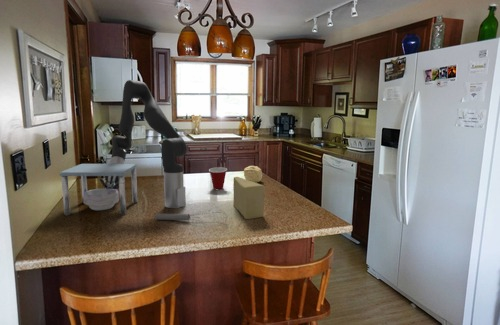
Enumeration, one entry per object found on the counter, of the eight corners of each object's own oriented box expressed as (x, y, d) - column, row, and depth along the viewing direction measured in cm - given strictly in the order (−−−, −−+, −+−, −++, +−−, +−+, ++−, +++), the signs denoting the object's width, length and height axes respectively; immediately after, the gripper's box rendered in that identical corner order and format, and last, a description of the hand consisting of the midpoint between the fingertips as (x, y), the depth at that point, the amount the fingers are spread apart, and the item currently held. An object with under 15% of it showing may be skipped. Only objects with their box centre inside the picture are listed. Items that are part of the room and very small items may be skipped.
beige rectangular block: (225, 206, 169) (225, 176, 166) (243, 204, 173) (243, 175, 170) (244, 220, 149) (245, 186, 147) (264, 217, 153) (265, 184, 151)
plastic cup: (205, 189, 201) (205, 169, 199) (215, 185, 211) (215, 166, 209) (220, 191, 196) (220, 171, 194) (230, 187, 206) (230, 168, 204)
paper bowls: (125, 204, 170) (124, 188, 168) (107, 213, 155) (106, 196, 154) (97, 202, 172) (96, 187, 171) (77, 211, 158) (76, 194, 156)
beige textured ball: (242, 183, 219) (242, 166, 217) (247, 179, 230) (247, 163, 228) (259, 184, 216) (259, 167, 214) (264, 180, 227) (264, 164, 225)
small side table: (84, 201, 173) (81, 163, 170) (138, 201, 175) (136, 163, 172) (63, 215, 152) (59, 172, 148) (124, 215, 153) (122, 172, 150)
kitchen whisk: (155, 217, 152) (155, 203, 151) (229, 223, 146) (229, 209, 145) (149, 221, 146) (148, 207, 145) (225, 228, 140) (225, 213, 139)
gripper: (101, 163, 177) (93, 192, 168) (126, 163, 178) (120, 192, 168) (105, 171, 184) (97, 199, 174) (130, 171, 184) (124, 199, 174)
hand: (109, 195), depth 171 cm, fingers closed
